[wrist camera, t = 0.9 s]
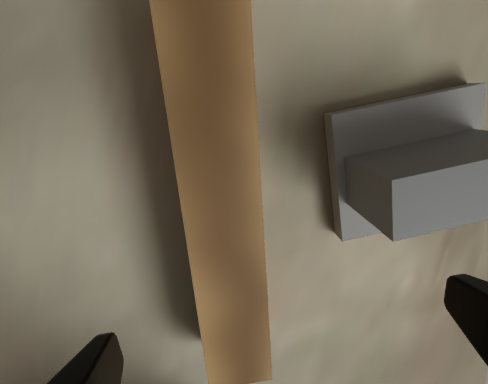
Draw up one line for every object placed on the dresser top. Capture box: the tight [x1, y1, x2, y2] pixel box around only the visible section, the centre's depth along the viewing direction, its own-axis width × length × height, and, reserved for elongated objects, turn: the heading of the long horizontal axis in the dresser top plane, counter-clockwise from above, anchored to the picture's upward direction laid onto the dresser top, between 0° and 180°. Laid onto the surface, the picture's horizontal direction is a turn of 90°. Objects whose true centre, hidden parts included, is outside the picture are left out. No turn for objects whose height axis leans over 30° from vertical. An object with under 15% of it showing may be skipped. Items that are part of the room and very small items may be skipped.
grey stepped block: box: [324, 83, 488, 242], centre depth 16 cm, size 9×8×6 cm
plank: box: [149, 0, 272, 384], centre depth 17 cm, size 4×22×4 cm, turn 4°
